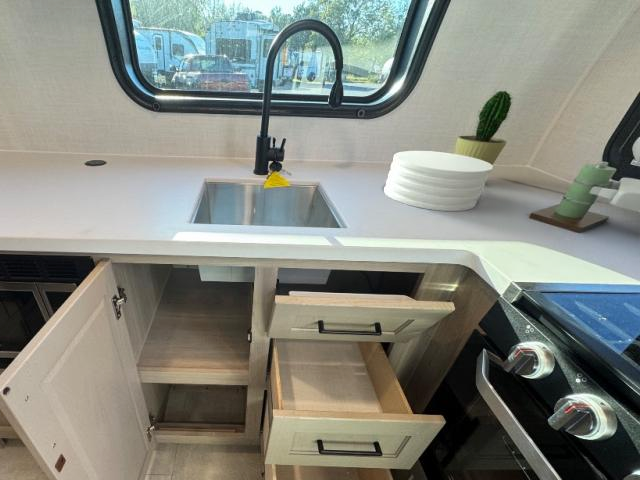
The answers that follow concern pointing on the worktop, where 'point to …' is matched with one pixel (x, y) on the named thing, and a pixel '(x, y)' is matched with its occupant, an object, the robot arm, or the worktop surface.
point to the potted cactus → (487, 130)
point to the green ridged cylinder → (584, 190)
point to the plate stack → (436, 180)
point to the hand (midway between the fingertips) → (592, 186)
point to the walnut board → (568, 219)
